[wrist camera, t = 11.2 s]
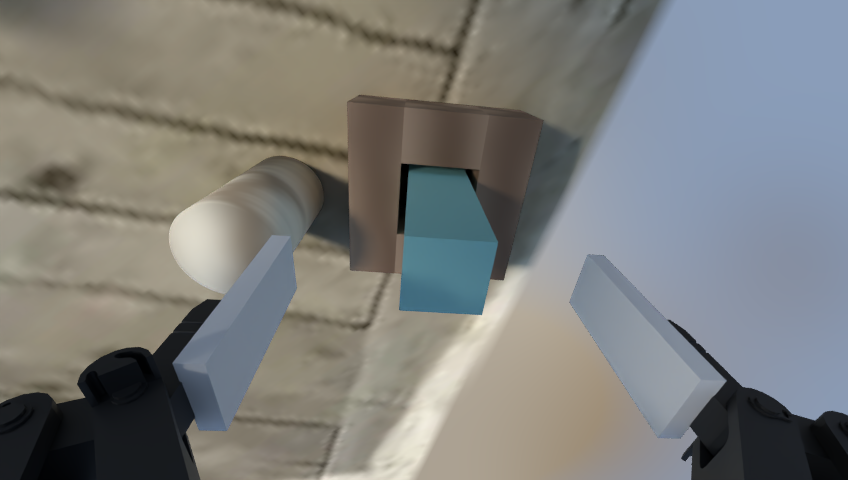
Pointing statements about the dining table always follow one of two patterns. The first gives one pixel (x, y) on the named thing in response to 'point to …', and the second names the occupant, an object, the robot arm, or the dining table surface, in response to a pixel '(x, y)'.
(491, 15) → the dining table surface
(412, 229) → the square bit
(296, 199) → the round dowel
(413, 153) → the socket block
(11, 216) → the dining table surface
